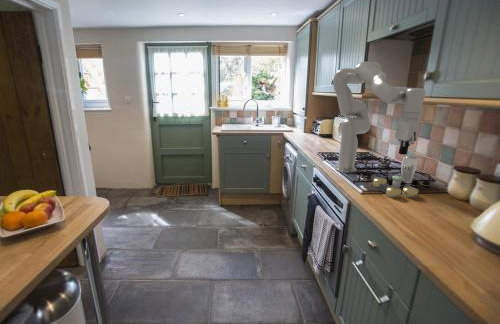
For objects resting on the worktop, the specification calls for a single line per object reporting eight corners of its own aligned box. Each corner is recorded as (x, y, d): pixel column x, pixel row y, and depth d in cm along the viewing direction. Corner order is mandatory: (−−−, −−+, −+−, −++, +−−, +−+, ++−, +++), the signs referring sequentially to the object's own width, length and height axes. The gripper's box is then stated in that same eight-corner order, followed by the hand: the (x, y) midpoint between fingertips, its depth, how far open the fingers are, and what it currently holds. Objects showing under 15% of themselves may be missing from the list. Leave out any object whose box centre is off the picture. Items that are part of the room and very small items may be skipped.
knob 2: (418, 199, 119) (420, 192, 118) (403, 197, 120) (405, 190, 119) (412, 191, 128) (413, 184, 127) (398, 189, 130) (400, 182, 128)
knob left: (388, 188, 131) (389, 181, 130) (376, 188, 130) (377, 181, 129) (377, 180, 140) (378, 174, 139) (366, 180, 140) (367, 174, 139)
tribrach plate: (369, 186, 136) (371, 173, 134) (397, 186, 137) (399, 173, 135) (389, 202, 118) (392, 188, 116) (421, 202, 119) (425, 188, 117)
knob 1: (403, 197, 120) (404, 190, 119) (394, 199, 118) (395, 192, 117) (384, 189, 129) (385, 182, 128) (375, 191, 127) (376, 184, 126)
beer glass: (414, 186, 138) (420, 159, 133) (400, 185, 139) (406, 158, 134) (409, 181, 144) (415, 155, 140) (396, 180, 145) (401, 154, 141)
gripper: (393, 113, 128) (386, 149, 134) (413, 118, 114) (404, 158, 119) (408, 113, 128) (400, 150, 134) (429, 118, 114) (420, 158, 120)
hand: (402, 153), depth 127 cm, fingers closed
